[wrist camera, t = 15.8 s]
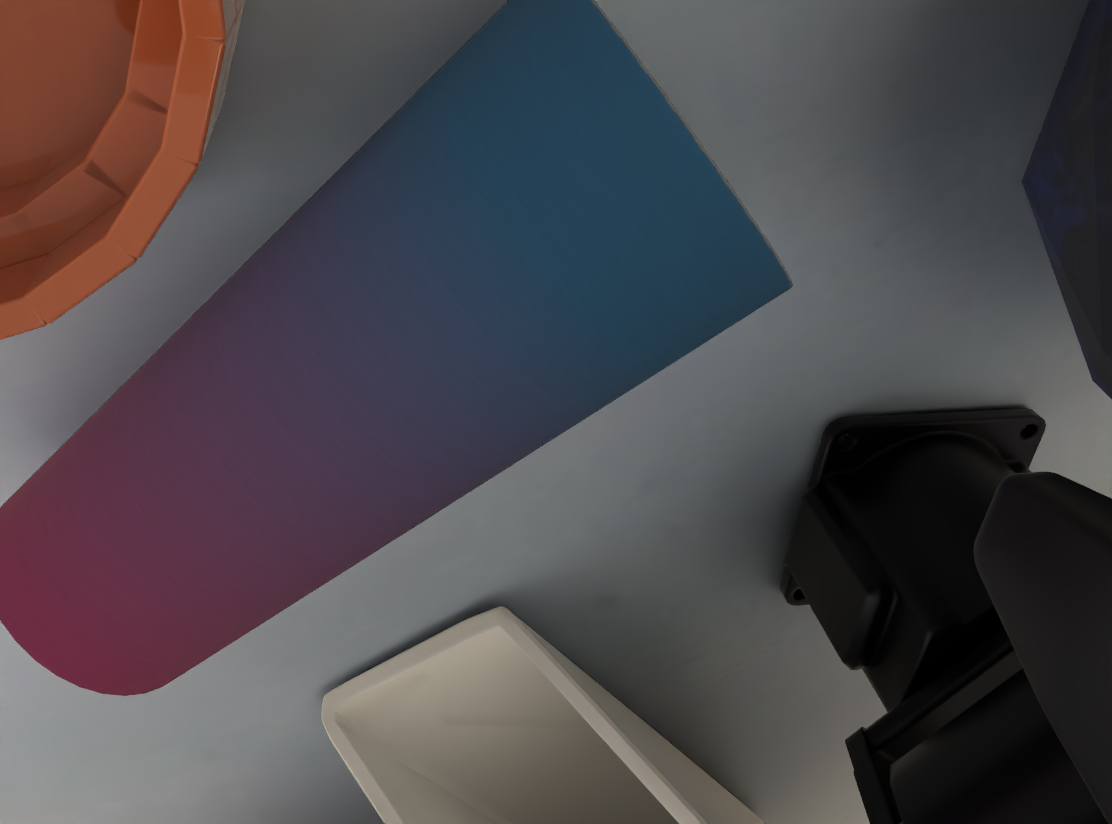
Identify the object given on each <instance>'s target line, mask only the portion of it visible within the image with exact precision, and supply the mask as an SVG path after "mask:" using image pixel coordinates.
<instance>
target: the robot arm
mask: <svg viewBox="0 0 1112 824" xmlns="http://www.w3.org/2000/svg"><path fill="white" fill-rule="evenodd" d="M1024 427H1025V428H1024ZM1045 427H1046V424H1045V420H1044V419H1042V418H1041V417H1040V416H1039V415H1038V414H1037V413H1036V412H1034V411H1033V410H1032V409H1008V410H988V411H967V412H947V413H927V414H906V415H886V416H866V417H845V418H840V419H837V420H835V421H833V422H831V423H830V424H829V425H828V426H827V427H826V428H825V430H824V432H823V435H822V438H821V442H820V445H819V449H818V452H817V456H816V460H815V463H814V467H813V470H812V474H811V478H810V481H809V485H808V488H807V491H806V492H805V494H804V495H803V497H802V499H801V503H800V507H799V510H798V514H797V517H796V521H795V525H794V528H793V532H792V536H791V539H790V543H789V546H788V550H787V554H786V557H785V563H786V567H785V571H784V574H783V578H782V581H781V585H780V590H781V592H782V594H783V596H784V597H785V599H786V601H787V603H789V604H791V605H810V607H811V608H812V610H813V612H814V614H815V615H816V617H817V619H818V620H819V622H820V624H821V626H822V627H823V629H824V631H825V633H826V634H827V636H828V638H829V639H830V641H831V643H832V645H833V646H834V648H835V650H836V652H837V653H838V655H839V657H840V659H841V660H842V662H843V663H844V664H845V665H846V666H847V667H848V668H849V669H850V670H858V669H863V671H864V673H865V675H866V676H867V678H868V680H869V681H870V683H871V685H872V686H873V688H874V690H875V691H876V693H877V695H878V696H879V698H880V700H881V701H882V703H883V705H884V706H885V708H886V710H887V712H888V713H886V714H885V715H884V716H882V717H881V718H880V719H878V720H877V721H876V722H874V723H873V724H872V725H870V726H869V727H868V728H864V727H861V728H860V729H859V730H857V731H856V732H855V733H853V734H852V735H851V736H850V737H848V738H847V739H846V740H845V743H846V746H847V749H848V752H849V755H850V758H851V762H852V765H853V768H854V776H855V779H856V782H857V785H858V788H859V791H860V795H861V798H862V801H863V804H864V807H865V810H866V813H867V816H868V819H869V822H870V824H1112V499H1111V498H1109V497H1107V496H1105V495H1102V494H1100V493H1098V492H1096V491H1094V490H1091V489H1089V488H1087V487H1085V486H1083V485H1081V484H1078V483H1076V482H1074V481H1072V480H1070V479H1067V478H1065V477H1063V476H1061V475H1058V474H1056V473H1051V472H1031V471H1030V470H1029V469H1028V468H1029V465H1030V463H1031V461H1032V458H1033V456H1034V454H1035V452H1036V449H1037V447H1038V445H1039V442H1040V440H1041V438H1042V436H1043V433H1044V431H1045ZM1023 428H1024V429H1023ZM845 434H848V435H847V436H846V437H845V438H844V439H843V440H839V439H840V438H841V437H842V436H843V435H845ZM838 440H839V441H838ZM798 588H799V589H798Z"/></svg>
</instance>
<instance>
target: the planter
mask: <svg viewBox="0 0 1112 824" xmlns="http://www.w3.org/2000/svg"><path fill="white" fill-rule="evenodd" d="M321 719H322V722H323V724H324V727H325V729H326V732H327V734H328V737H329V739H330V740H331V742H332V744H333V745H334V747H335V748H336V750H337V751H338V753H339V754H340V756H341V758H342V759H343V761H344V762H345V764H346V765H347V767H348V768H349V770H350V771H351V773H352V775H353V776H354V778H355V779H356V781H357V782H358V784H359V785H360V787H361V789H362V790H363V792H364V793H365V795H366V796H367V798H368V799H369V801H370V802H371V804H372V805H373V807H374V808H375V810H376V811H377V813H378V814H379V816H380V817H381V819H382V821H383V822H384V824H764V822H763V821H762V820H761V819H760V818H759V817H758V816H757V815H755V814H754V813H753V812H752V811H751V810H750V809H749V808H748V807H746V806H745V805H744V804H743V803H742V802H740V801H739V800H738V799H737V798H736V797H734V796H733V795H732V794H731V793H730V792H728V791H727V790H726V789H725V788H724V787H722V786H721V785H720V784H719V783H718V782H716V781H715V780H714V779H713V778H712V777H710V776H709V775H708V774H707V773H706V772H704V771H703V770H702V769H701V768H700V767H698V766H697V765H696V764H695V763H694V762H692V761H691V760H690V759H689V758H688V757H686V756H685V755H684V754H683V753H682V752H680V751H679V750H678V749H677V748H676V747H674V746H673V745H672V744H671V743H670V742H668V741H667V740H666V739H665V738H664V737H662V736H661V735H660V734H659V733H657V732H656V731H655V730H654V729H653V728H651V727H650V726H649V725H648V724H647V723H645V722H644V721H643V720H642V719H641V718H639V717H638V716H637V715H636V714H634V713H633V712H632V711H631V710H630V709H628V708H627V707H626V706H625V705H624V704H622V703H621V702H620V701H619V700H618V699H616V698H615V697H614V696H613V695H611V694H610V693H609V692H608V691H607V690H605V689H604V688H603V687H602V686H601V685H599V684H598V683H597V682H596V681H595V680H593V679H592V678H591V677H590V676H588V675H587V674H586V673H585V672H584V671H582V670H581V669H580V668H579V667H578V666H576V665H575V664H574V663H573V662H571V661H570V660H569V659H568V658H567V657H565V656H564V655H563V654H562V653H561V652H559V651H558V650H557V649H556V648H554V647H553V646H552V645H551V644H550V643H548V642H547V641H546V640H545V639H543V638H542V637H541V636H540V635H539V634H537V633H536V632H535V631H534V630H532V629H531V628H530V627H529V626H528V625H526V624H525V623H524V622H523V621H521V620H520V619H519V618H518V617H517V616H515V615H514V614H513V613H512V612H511V611H509V610H508V609H507V608H505V607H502V606H500V607H497V608H494V609H491V610H489V611H486V612H484V613H481V614H479V615H476V616H473V617H471V618H468V619H466V620H464V621H462V622H460V623H458V624H456V625H454V626H452V627H450V628H448V629H446V630H444V631H442V632H441V633H439V634H437V635H435V636H433V637H431V638H429V639H427V640H425V641H423V642H421V643H419V644H417V645H415V646H414V647H412V648H410V649H408V650H406V651H404V652H402V653H400V654H398V655H396V656H394V657H393V658H391V659H389V660H387V661H385V662H383V663H381V664H379V665H377V666H375V667H373V668H372V669H370V670H368V671H366V672H364V673H362V674H360V675H358V676H356V677H354V678H353V679H351V680H349V681H347V682H345V683H343V684H342V685H340V686H338V687H336V688H335V689H333V690H331V691H329V692H328V693H327V694H326V695H325V696H324V698H323V702H322V713H321Z"/></svg>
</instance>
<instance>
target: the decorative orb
mask: <svg viewBox="0 0 1112 824" xmlns="http://www.w3.org/2000/svg"><path fill="white" fill-rule="evenodd" d="M1022 183H1023V186H1024V189H1025V192H1026V195H1027V197H1028V200H1029V203H1030V206H1031V209H1032V211H1033V214H1034V217H1035V220H1036V223H1037V225H1038V228H1039V231H1040V234H1041V237H1042V239H1043V242H1044V245H1045V248H1046V251H1047V254H1048V256H1049V259H1050V262H1051V265H1052V268H1053V270H1054V273H1055V276H1056V279H1057V282H1058V284H1059V287H1060V290H1061V293H1062V296H1063V298H1064V301H1065V304H1066V307H1067V310H1068V312H1069V315H1070V318H1071V321H1072V324H1073V326H1074V329H1075V332H1076V335H1077V338H1078V340H1079V343H1080V346H1081V349H1082V352H1083V355H1084V357H1085V360H1086V363H1087V366H1088V369H1089V371H1090V374H1091V377H1092V380H1093V381H1094V382H1095V383H1096V384H1097V385H1098V386H1099V387H1100V388H1101V389H1102V390H1103V391H1104V392H1105V393H1106V394H1107V395H1108V396H1109V397H1110V398H1111V399H1112V0H1089V3H1088V6H1087V8H1086V11H1085V14H1084V16H1083V19H1082V22H1081V25H1080V27H1079V30H1078V33H1077V35H1076V38H1075V41H1074V43H1073V46H1072V49H1071V51H1070V54H1069V57H1068V59H1067V62H1066V65H1065V67H1064V70H1063V73H1062V75H1061V78H1060V81H1059V83H1058V86H1057V89H1056V91H1055V94H1054V97H1053V99H1052V102H1051V105H1050V108H1049V110H1048V113H1047V116H1046V118H1045V121H1044V124H1043V126H1042V129H1041V132H1040V134H1039V137H1038V140H1037V142H1036V145H1035V148H1034V150H1033V153H1032V156H1031V158H1030V161H1029V164H1028V166H1027V169H1026V172H1025V174H1024V177H1023V180H1022Z"/></svg>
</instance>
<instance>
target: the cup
mask: <svg viewBox="0 0 1112 824" xmlns="http://www.w3.org/2000/svg"><path fill="white" fill-rule="evenodd" d="M792 286H793V284H792V281H791V279H790V277H789V275H788V273H787V271H786V270H785V268H784V266H783V264H782V263H781V261H780V259H779V258H778V256H777V255H776V253H775V252H774V250H773V248H772V247H771V245H770V244H769V242H768V241H767V239H766V238H765V236H764V235H763V233H762V232H761V230H760V229H759V227H758V226H757V224H756V223H755V221H754V220H753V218H752V217H751V215H750V214H749V212H748V211H747V209H746V208H745V206H744V205H743V203H742V202H741V200H740V199H739V198H738V196H737V195H736V193H735V192H734V190H733V189H732V187H731V186H730V184H729V183H728V182H727V180H726V179H725V177H724V176H723V174H722V173H721V172H720V170H719V169H718V167H717V166H716V164H715V163H714V162H713V160H712V159H711V157H710V156H709V155H708V153H707V152H706V150H705V149H704V147H703V146H702V145H701V143H700V142H699V140H698V139H697V138H696V136H695V135H694V133H693V132H692V131H691V129H690V128H689V127H688V125H687V124H686V122H685V121H684V120H683V118H682V117H681V115H680V114H679V113H678V111H677V110H676V108H675V107H674V106H673V104H672V103H671V102H670V100H669V99H668V98H667V96H666V95H665V93H664V92H663V91H662V89H661V88H660V87H659V85H658V84H657V83H656V81H655V80H654V78H653V77H652V76H651V74H650V73H649V72H648V70H647V69H646V68H645V66H644V65H643V64H642V62H641V61H640V60H639V58H638V57H637V56H636V54H635V53H634V52H633V50H632V49H631V48H630V46H629V45H628V44H627V42H626V41H625V40H624V38H623V37H622V36H621V34H620V33H619V32H618V30H617V29H616V28H615V26H614V25H613V24H612V23H611V21H610V20H609V19H608V17H607V16H606V15H605V13H604V12H603V11H602V10H601V8H600V7H599V6H598V4H597V3H596V2H595V1H594V0H509V1H508V2H507V3H506V4H505V5H504V6H503V7H502V8H501V9H500V10H499V11H498V12H497V13H496V14H495V15H494V16H493V17H492V18H491V19H490V20H489V21H488V22H487V23H486V24H485V25H484V26H483V27H482V28H481V29H480V30H479V31H478V32H477V33H476V34H475V35H474V36H473V37H472V38H471V39H470V40H469V41H468V42H467V43H466V44H465V45H464V46H463V47H462V48H461V49H460V50H459V51H458V52H457V53H456V54H455V55H454V56H453V57H452V58H450V59H449V60H448V61H447V62H446V63H445V64H444V65H443V66H442V67H441V68H440V69H439V70H438V71H437V72H436V73H435V74H434V75H433V76H432V77H431V78H430V79H429V80H428V81H427V82H426V83H425V84H424V85H423V86H422V87H421V88H420V89H419V90H418V91H417V92H416V93H415V94H414V95H413V96H412V97H411V98H410V99H409V100H408V101H407V102H406V103H405V104H404V105H403V106H402V107H401V108H400V109H399V110H398V111H397V112H396V113H395V114H394V115H393V116H392V117H391V118H390V119H389V120H388V121H387V122H386V123H385V124H384V125H383V126H382V127H381V128H380V129H379V130H378V131H377V132H376V133H375V134H374V135H373V136H372V137H371V138H370V139H369V140H368V141H367V142H366V143H365V144H364V145H363V146H362V147H361V148H360V149H359V150H358V151H357V152H356V153H355V154H354V155H353V156H352V157H351V158H350V159H349V160H348V161H347V162H346V163H345V164H344V165H343V166H342V167H341V168H340V169H339V170H338V171H337V172H336V173H335V174H334V175H333V176H332V177H331V178H330V179H329V180H328V181H327V182H326V183H325V184H324V185H323V186H322V187H321V188H320V189H319V190H318V191H317V192H316V193H315V194H314V195H313V196H312V197H311V198H310V199H309V200H308V201H307V202H306V203H305V204H304V205H303V206H302V207H301V208H300V209H299V210H298V211H297V212H296V213H295V214H294V215H293V216H292V217H291V218H290V219H289V220H288V221H287V222H286V223H285V224H284V225H283V226H282V227H281V228H280V229H279V230H278V231H277V232H276V233H275V234H274V235H273V236H272V237H271V238H270V239H269V240H268V241H267V242H266V243H265V244H264V245H263V246H262V247H261V248H260V249H259V250H258V251H257V252H256V253H255V254H254V255H253V256H252V257H251V258H250V259H249V260H248V261H247V262H246V263H245V264H244V265H243V266H242V267H241V268H240V269H239V270H238V271H237V272H236V273H235V274H234V275H233V276H232V277H231V278H230V279H229V280H228V281H227V282H226V283H225V284H224V285H223V286H222V287H221V288H220V289H219V290H218V291H217V292H216V293H215V294H214V295H213V296H212V297H211V298H210V299H209V300H208V301H207V302H206V303H205V304H204V305H203V306H202V307H201V308H200V309H199V310H198V311H197V312H196V313H195V314H194V315H193V316H192V317H191V318H190V319H189V320H188V321H187V322H186V323H185V324H184V325H183V326H182V327H181V328H180V329H179V330H178V331H177V332H176V333H175V334H174V335H173V336H172V337H171V338H170V339H169V340H168V341H167V342H166V343H165V344H164V345H163V346H162V347H161V348H160V349H159V350H158V351H157V352H156V353H155V354H154V355H153V356H152V357H151V358H150V359H149V360H148V361H147V362H146V363H145V364H144V365H143V366H142V367H141V368H140V369H139V370H138V371H137V372H136V373H135V374H134V375H133V376H132V377H131V378H130V379H128V380H127V381H126V382H125V383H124V384H123V385H122V386H121V387H120V388H119V389H118V390H117V391H116V392H115V393H114V394H113V395H112V396H111V397H110V398H109V399H108V400H107V401H106V402H105V403H104V404H103V405H102V406H101V407H100V408H99V409H98V410H97V411H96V412H95V413H94V414H93V415H92V416H91V417H90V418H89V419H88V420H87V421H86V422H85V423H84V424H83V425H82V426H81V427H80V428H79V429H78V430H77V431H76V432H75V433H74V434H73V435H72V436H71V437H70V438H69V439H68V440H67V441H66V442H65V443H64V444H63V445H62V446H61V447H60V448H59V449H58V450H57V451H56V452H55V453H54V454H53V455H52V456H51V457H50V458H49V459H48V460H47V461H46V462H45V463H44V464H43V465H42V466H41V467H40V468H39V469H38V470H37V471H36V472H35V473H34V474H33V475H32V476H31V477H30V478H29V479H28V480H27V481H26V482H25V483H24V484H23V485H22V486H21V487H20V488H19V489H18V490H17V491H16V492H15V493H14V494H13V495H12V496H11V497H10V498H9V499H8V500H7V501H6V502H5V503H4V504H3V505H2V506H1V508H0V620H1V622H2V623H3V624H4V626H5V627H6V629H7V630H8V631H9V633H10V634H11V635H12V637H13V638H14V639H15V641H16V642H17V643H18V644H19V645H20V646H21V647H22V648H23V649H24V650H25V651H26V652H27V653H28V654H29V655H30V656H31V657H32V658H33V659H34V660H35V661H37V662H38V663H40V664H41V665H42V666H44V667H45V668H47V669H48V670H50V671H51V672H52V673H54V674H55V675H57V676H58V677H60V678H62V679H64V680H67V681H69V682H71V683H73V684H75V685H77V686H79V687H81V688H85V689H88V690H92V691H95V692H98V693H102V694H111V695H122V696H127V695H135V694H143V693H147V692H150V691H153V690H155V689H158V688H161V687H163V686H164V685H166V684H167V683H169V682H171V681H172V680H174V679H175V678H177V677H179V676H180V675H182V674H183V673H185V672H186V671H188V670H190V669H191V668H193V667H194V666H196V665H197V664H199V663H201V662H202V661H204V660H205V659H207V658H208V657H210V656H212V655H213V654H215V653H216V652H218V651H220V650H221V649H223V648H224V647H226V646H227V645H229V644H231V643H232V642H234V641H235V640H237V639H238V638H240V637H242V636H243V635H245V634H246V633H248V632H249V631H251V630H253V629H254V628H256V627H257V626H259V625H260V624H262V623H264V622H265V621H267V620H268V619H270V618H272V617H273V616H275V615H276V614H278V613H279V612H281V611H283V610H284V609H286V608H287V607H289V606H290V605H292V604H294V603H295V602H297V601H298V600H300V599H301V598H303V597H305V596H306V595H308V594H309V593H311V592H313V591H314V590H316V589H317V588H319V587H320V586H322V585H324V584H325V583H327V582H328V581H330V580H331V579H333V578H335V577H336V576H338V575H339V574H341V573H342V572H344V571H346V570H347V569H349V568H350V567H352V566H354V565H355V564H357V563H358V562H360V561H361V560H363V559H365V558H366V557H368V556H369V555H371V554H372V553H374V552H376V551H377V550H379V549H380V548H382V547H383V546H385V545H387V544H388V543H390V542H391V541H393V540H395V539H396V538H398V537H399V536H401V535H402V534H404V533H406V532H407V531H409V530H410V529H412V528H413V527H415V526H417V525H418V524H420V523H421V522H423V521H424V520H426V519H428V518H429V517H431V516H432V515H434V514H436V513H437V512H439V511H440V510H442V509H443V508H445V507H447V506H448V505H450V504H451V503H453V502H454V501H456V500H458V499H459V498H461V497H462V496H464V495H465V494H467V493H469V492H470V491H472V490H473V489H475V488H476V487H478V486H480V485H481V484H483V483H484V482H486V481H488V480H489V479H491V478H492V477H494V476H495V475H497V474H499V473H500V472H502V471H503V470H505V469H506V468H508V467H510V466H511V465H513V464H514V463H516V462H517V461H519V460H521V459H522V458H524V457H525V456H527V455H529V454H530V453H532V452H533V451H535V450H536V449H538V448H540V447H541V446H543V445H544V444H546V443H547V442H549V441H551V440H552V439H554V438H555V437H557V436H558V435H560V434H562V433H563V432H565V431H566V430H568V429H570V428H571V427H573V426H574V425H576V424H577V423H579V422H581V421H582V420H584V419H585V418H587V417H588V416H590V415H592V414H593V413H595V412H596V411H598V410H599V409H601V408H603V407H604V406H606V405H607V404H609V403H611V402H612V401H614V400H615V399H617V398H618V397H620V396H622V395H623V394H625V393H626V392H628V391H629V390H631V389H633V388H634V387H636V386H637V385H639V384H640V383H642V382H644V381H645V380H647V379H648V378H650V377H652V376H653V375H655V374H656V373H658V372H659V371H661V370H663V369H664V368H666V367H667V366H669V365H670V364H672V363H674V362H675V361H677V360H678V359H680V358H681V357H683V356H685V355H686V354H688V353H689V352H691V351H693V350H694V349H696V348H697V347H699V346H700V345H702V344H704V343H705V342H707V341H708V340H710V339H711V338H713V337H715V336H716V335H718V334H719V333H721V332H722V331H724V330H726V329H727V328H729V327H730V326H732V325H733V324H735V323H737V322H738V321H740V320H741V319H743V318H745V317H746V316H748V315H749V314H751V313H752V312H754V311H756V310H757V309H759V308H760V307H762V306H763V305H765V304H767V303H768V302H770V301H771V300H773V299H774V298H776V297H778V296H779V295H781V294H782V293H784V292H786V291H787V290H789V289H790V288H791V287H792Z"/></svg>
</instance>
